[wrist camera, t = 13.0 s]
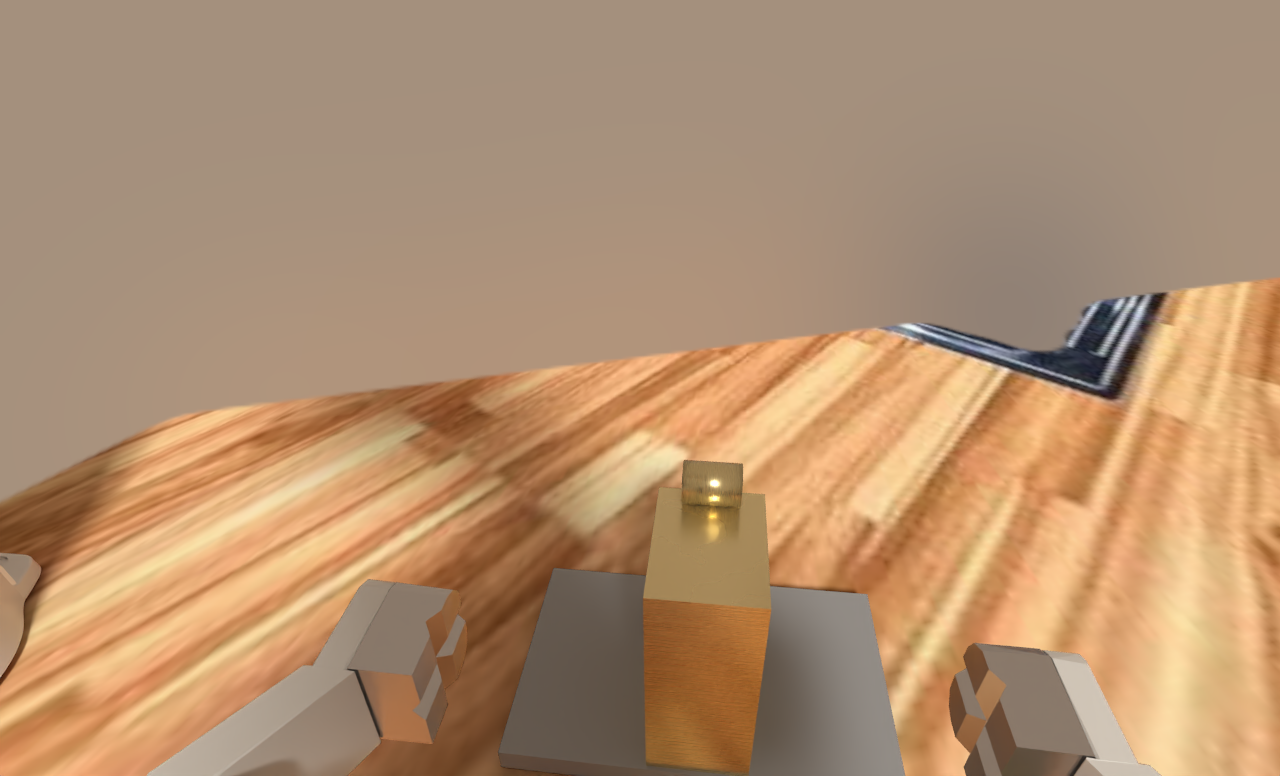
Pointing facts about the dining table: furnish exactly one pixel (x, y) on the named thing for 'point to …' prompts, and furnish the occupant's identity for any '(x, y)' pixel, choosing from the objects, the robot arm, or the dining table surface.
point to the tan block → (705, 621)
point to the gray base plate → (615, 694)
